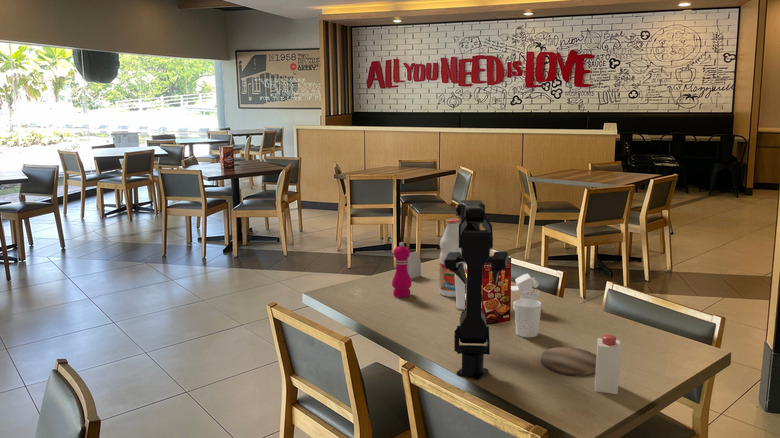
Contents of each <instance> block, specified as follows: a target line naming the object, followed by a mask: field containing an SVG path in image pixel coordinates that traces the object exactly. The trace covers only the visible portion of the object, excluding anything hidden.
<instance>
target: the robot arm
mask: <svg viewBox="0 0 780 438" xmlns="http://www.w3.org/2000/svg"><path fill="white" fill-rule="evenodd" d="M485 214H486V204H485V203H483V200H480V199H473V200H472V199H461V200H460V203H458V204H457V206H456V208H455V216H457V219H459V233H458V238H459V248H461V253H460V252H449V253H448V255H447V256H446V258H445V260H444V266H445V268H446V269H449V270H450V271H453V272H454V273H455V274H456V275H457V276H458V277H459V278H460V279H461V280H462V281H463V283H464V284H465V285H466V310H463V311H461V313H460V316H459V325H456V328H455V330H454V332H453V333H454V340H453V341H454V344H453V345H454V347H453V348H454V352H456V354H457V355H459V354H461V368H460V369H458V370H457V371H456V375H459V376H461V377H466V378H470V379H473V380H480V379H481V378H483V376H484V375H486V374H487V373H488V372H489V369H488V368H485V367H484V365H485V364H484V361H485V360H484V359H485V358H484V357H485V355H488V356H489V355H490V352H491V351H490V347H491V345H490V326H488V325H487V318H486V315H485V313H484V311H482V302H483V299H482V298H483V279H484V278H483V276H484V275H483V273H484V265H485V264H491V267H492V269H491V274H492V281H493V284H494V286H496V285H497V283H498V278H499V273H500V272H502V270H504V269H506V268H507V267H508V263H509V262H510V254H509V253H508V252H507V251H494V252H493V254H492V255H491V250H492V249H493V247H494V238H493V224H492V223H491V222H490V221H489V220H488V218H487V217H486V215H485ZM480 225H481V226H480ZM481 227H483V229H481ZM461 255H462V257H461ZM463 263H465V264H467V278H466V274H465V271H464V267H463ZM460 343H461V344H460ZM469 344H470V345H469ZM472 344H474V345H472ZM485 344H486V345H485Z"/></svg>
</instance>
